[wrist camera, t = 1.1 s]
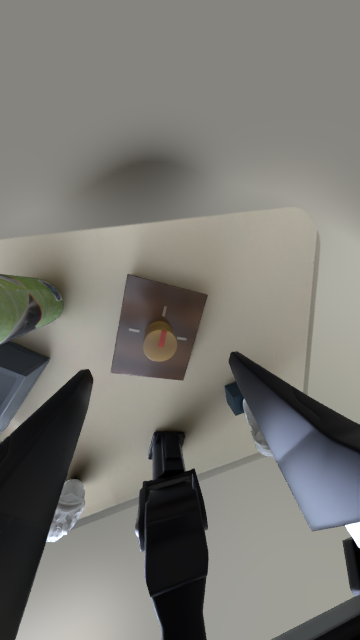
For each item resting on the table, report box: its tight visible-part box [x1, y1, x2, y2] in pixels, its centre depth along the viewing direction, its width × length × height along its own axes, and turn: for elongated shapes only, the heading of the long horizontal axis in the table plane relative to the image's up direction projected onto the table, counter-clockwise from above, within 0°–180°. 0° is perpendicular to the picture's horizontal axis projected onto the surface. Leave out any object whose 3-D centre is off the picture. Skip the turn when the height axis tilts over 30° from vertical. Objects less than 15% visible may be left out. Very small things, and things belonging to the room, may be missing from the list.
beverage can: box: [0, 274, 64, 345], centre depth 14 cm, size 6×7×12 cm
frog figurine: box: [47, 479, 85, 542], centre depth 24 cm, size 6×7×7 cm
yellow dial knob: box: [143, 321, 178, 361], centre depth 18 cm, size 4×4×4 cm
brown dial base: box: [111, 274, 208, 380], centre depth 22 cm, size 14×11×3 cm
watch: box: [225, 382, 274, 457], centre depth 24 cm, size 6×8×11 cm
